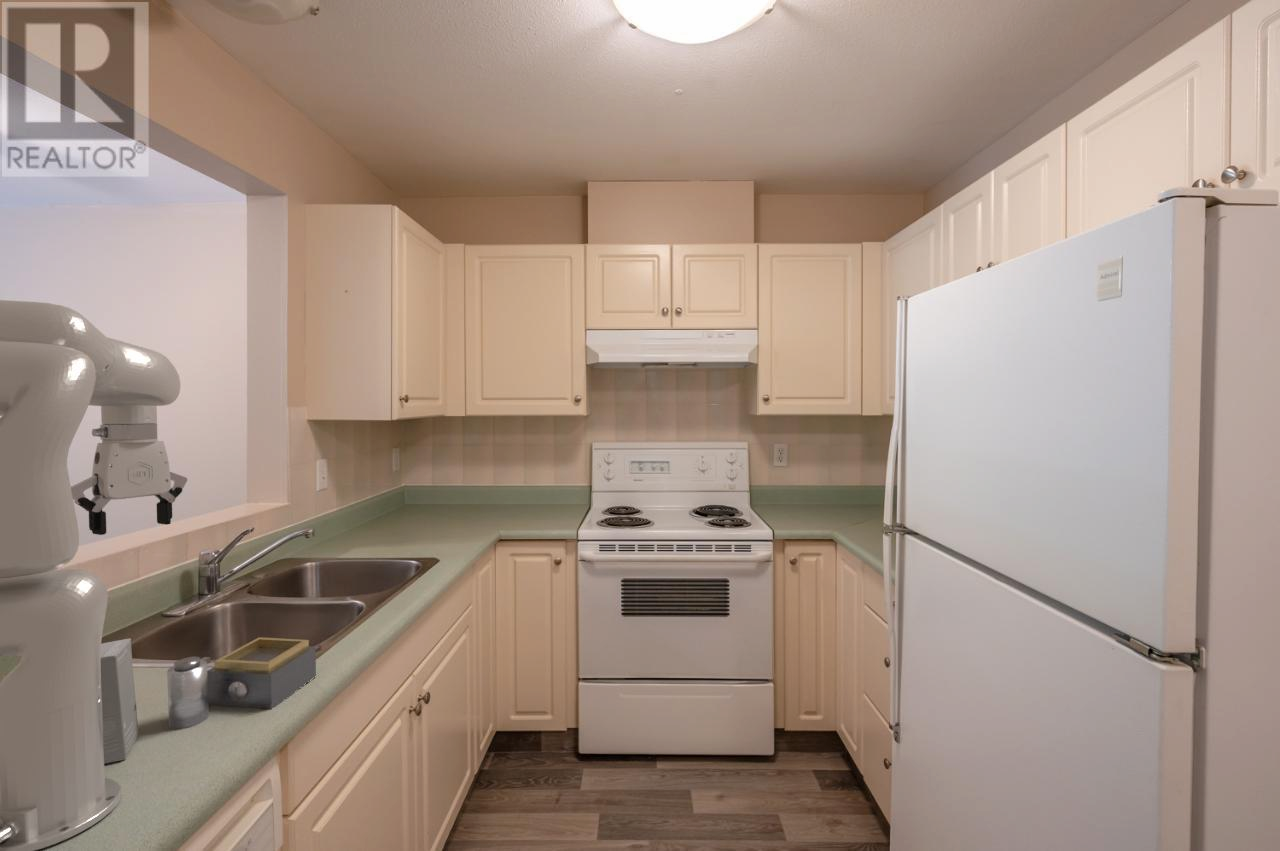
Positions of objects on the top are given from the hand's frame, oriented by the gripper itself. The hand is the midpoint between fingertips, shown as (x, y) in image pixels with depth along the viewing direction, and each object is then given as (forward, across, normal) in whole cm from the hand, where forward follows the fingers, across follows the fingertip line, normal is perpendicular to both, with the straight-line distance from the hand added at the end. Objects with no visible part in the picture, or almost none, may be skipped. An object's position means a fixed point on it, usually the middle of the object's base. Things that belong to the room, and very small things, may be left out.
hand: (132, 528), depth 105 cm
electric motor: (+30, -2, -19) cm, 36 cm away
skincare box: (+30, -12, -18) cm, 37 cm away
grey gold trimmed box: (+30, +10, -21) cm, 38 cm away
